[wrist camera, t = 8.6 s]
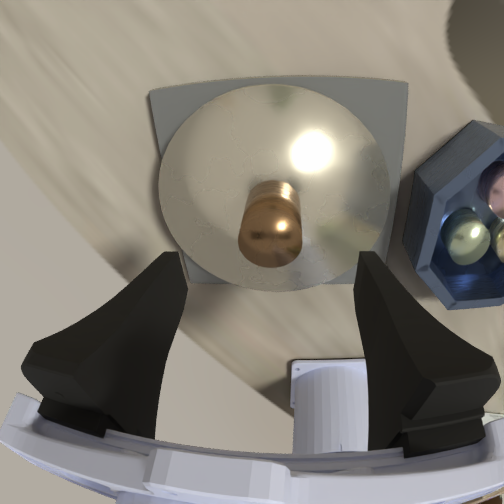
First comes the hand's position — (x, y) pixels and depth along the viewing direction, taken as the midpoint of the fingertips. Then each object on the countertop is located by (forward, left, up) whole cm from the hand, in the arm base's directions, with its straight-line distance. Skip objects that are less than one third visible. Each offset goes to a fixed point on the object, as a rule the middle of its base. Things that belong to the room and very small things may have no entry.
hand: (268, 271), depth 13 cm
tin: (-1, -14, -7) cm, 16 cm away
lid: (0, 0, -6) cm, 6 cm away
